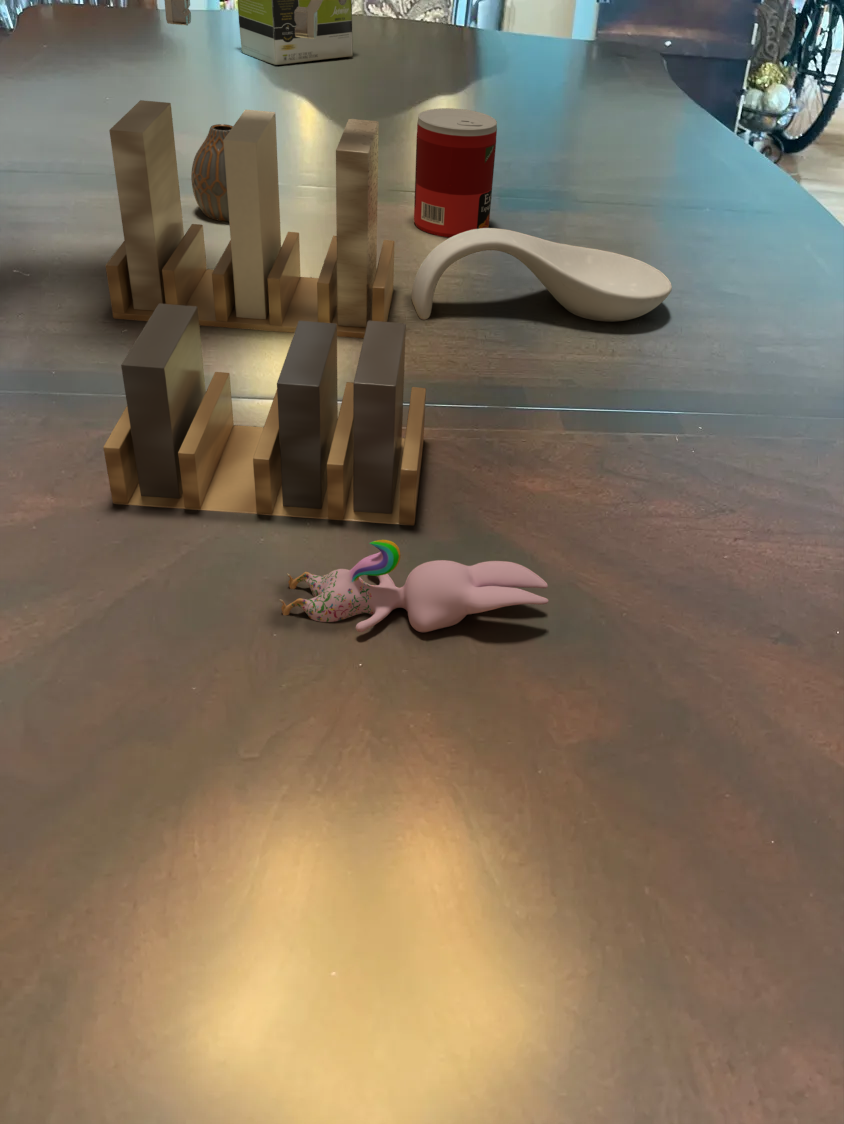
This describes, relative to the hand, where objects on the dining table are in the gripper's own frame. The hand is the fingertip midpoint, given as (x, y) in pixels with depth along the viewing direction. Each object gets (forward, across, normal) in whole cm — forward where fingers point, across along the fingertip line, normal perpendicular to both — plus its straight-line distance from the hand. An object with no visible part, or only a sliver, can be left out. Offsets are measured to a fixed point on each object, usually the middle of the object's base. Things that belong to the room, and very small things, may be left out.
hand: (242, 30), depth 79 cm
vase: (+22, +7, -22) cm, 32 cm away
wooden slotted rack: (+22, 0, 0) cm, 22 cm away
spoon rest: (+22, -25, -4) cm, 34 cm away
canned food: (+22, -16, -24) cm, 36 cm away
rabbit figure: (+22, -16, +42) cm, 50 cm away
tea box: (+22, +11, -98) cm, 101 cm away
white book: (+21, 0, 0) cm, 21 cm away
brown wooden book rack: (+22, -6, +28) cm, 36 cm away
